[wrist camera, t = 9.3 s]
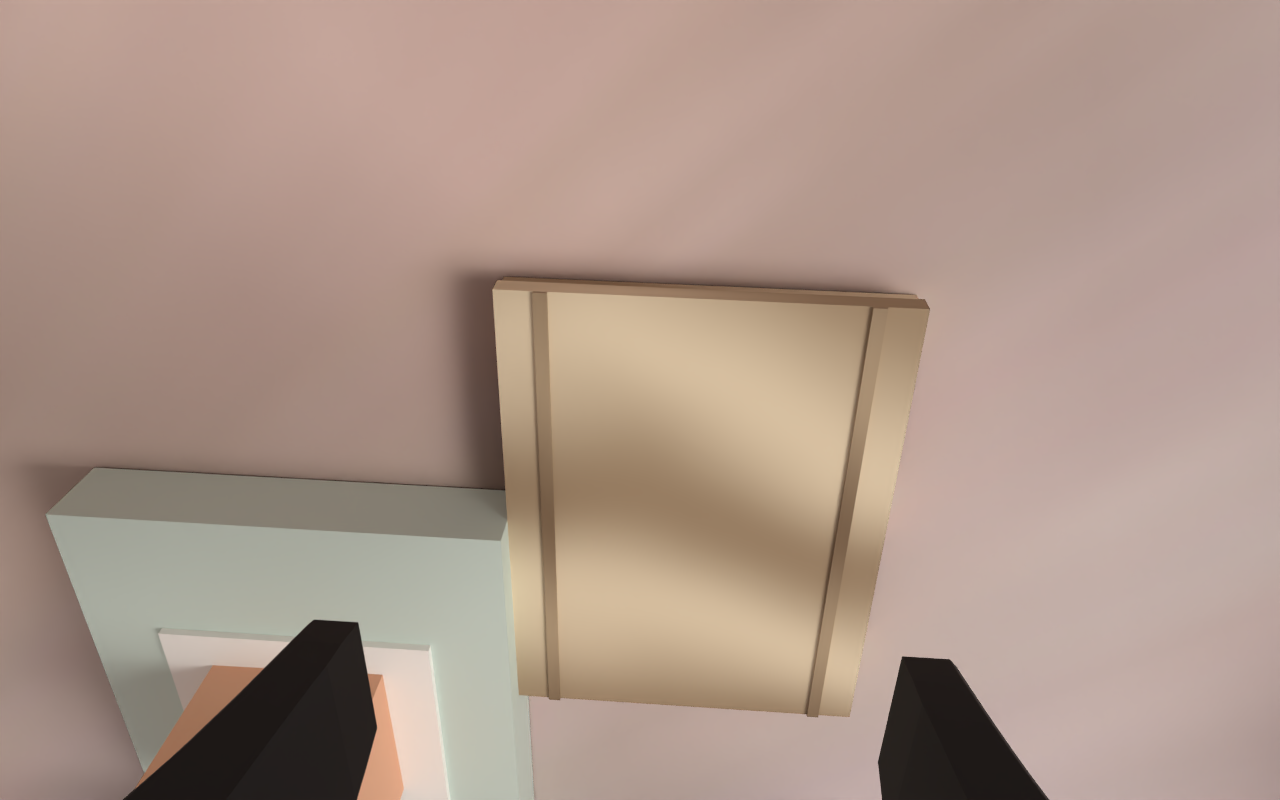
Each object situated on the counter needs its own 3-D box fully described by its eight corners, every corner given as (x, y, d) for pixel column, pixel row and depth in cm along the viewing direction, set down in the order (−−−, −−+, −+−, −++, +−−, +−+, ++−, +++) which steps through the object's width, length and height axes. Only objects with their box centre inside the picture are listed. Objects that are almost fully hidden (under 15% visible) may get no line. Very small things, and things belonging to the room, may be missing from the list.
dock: (536, 837, 30) (507, 999, 25) (211, 813, 30) (128, 968, 26) (516, 490, 23) (472, 633, 18) (94, 467, 23) (-46, 601, 19)
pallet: (843, 682, 25) (850, 719, 24) (526, 662, 26) (518, 697, 25) (917, 286, 19) (930, 310, 18) (503, 267, 20) (491, 291, 19)
